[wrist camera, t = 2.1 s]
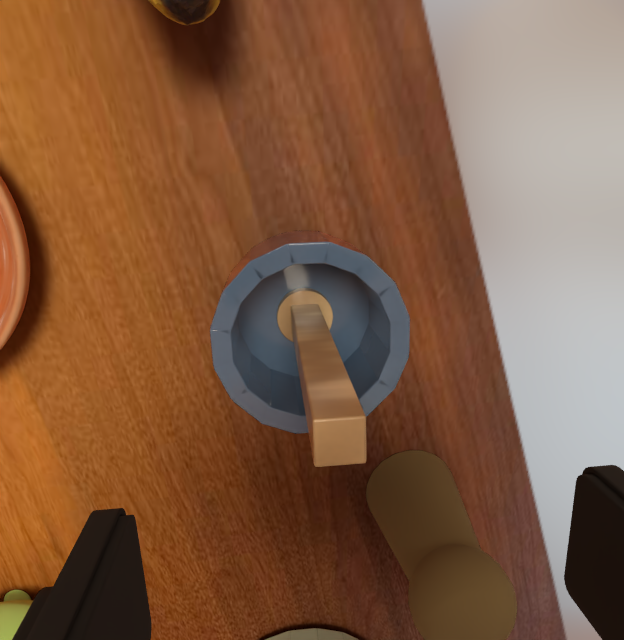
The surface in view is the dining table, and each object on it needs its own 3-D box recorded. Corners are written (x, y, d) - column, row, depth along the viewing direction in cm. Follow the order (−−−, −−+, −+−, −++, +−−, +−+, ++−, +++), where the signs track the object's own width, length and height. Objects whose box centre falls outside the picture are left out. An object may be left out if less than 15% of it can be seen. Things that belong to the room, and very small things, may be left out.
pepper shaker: (352, 472, 33) (392, 609, 22) (436, 435, 33) (517, 556, 22) (385, 541, 35) (436, 699, 24) (465, 506, 34) (553, 650, 24)
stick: (330, 286, 29) (393, 389, 14) (331, 338, 30) (392, 485, 15) (275, 289, 29) (283, 396, 14) (278, 342, 29) (288, 494, 15)
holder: (382, 226, 29) (411, 237, 23) (382, 381, 31) (408, 426, 26) (215, 234, 28) (201, 247, 22) (228, 391, 31) (219, 440, 25)
